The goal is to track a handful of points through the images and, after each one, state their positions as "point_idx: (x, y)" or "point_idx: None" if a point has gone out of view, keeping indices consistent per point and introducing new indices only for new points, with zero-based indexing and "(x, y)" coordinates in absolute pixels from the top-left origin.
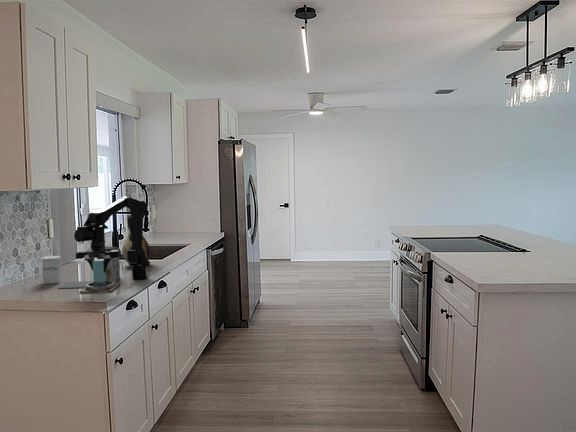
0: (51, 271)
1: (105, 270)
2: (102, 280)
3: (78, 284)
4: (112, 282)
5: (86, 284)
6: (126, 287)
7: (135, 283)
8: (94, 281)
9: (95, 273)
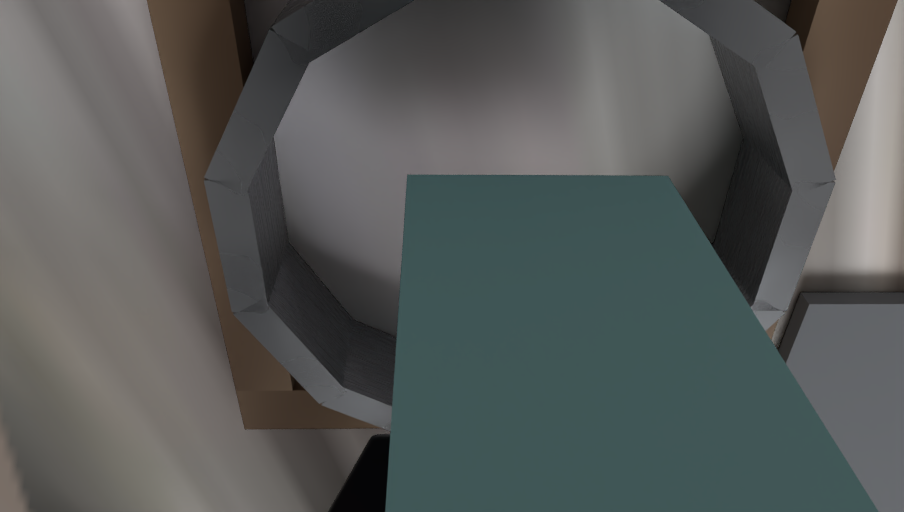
0: None
1: (345, 485)
2: (436, 199)
3: (899, 447)
4: (292, 328)
5: (813, 227)
6: (41, 242)
7: (38, 449)
8: (649, 187)
9: (682, 338)
